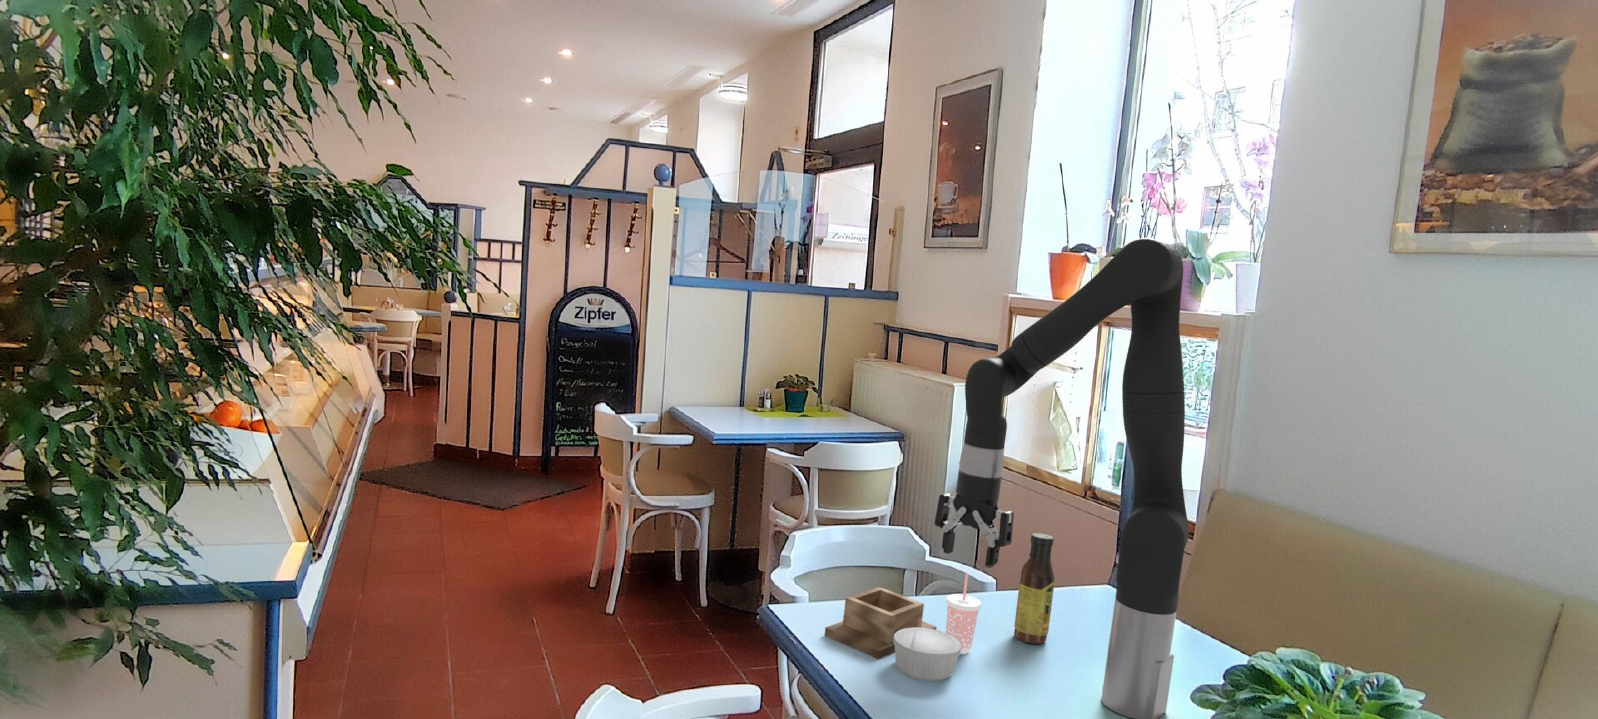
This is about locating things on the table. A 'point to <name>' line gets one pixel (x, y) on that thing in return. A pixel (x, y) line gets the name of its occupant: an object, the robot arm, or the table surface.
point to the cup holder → (876, 621)
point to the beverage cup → (962, 618)
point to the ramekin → (926, 653)
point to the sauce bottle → (1035, 592)
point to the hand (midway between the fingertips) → (968, 559)
